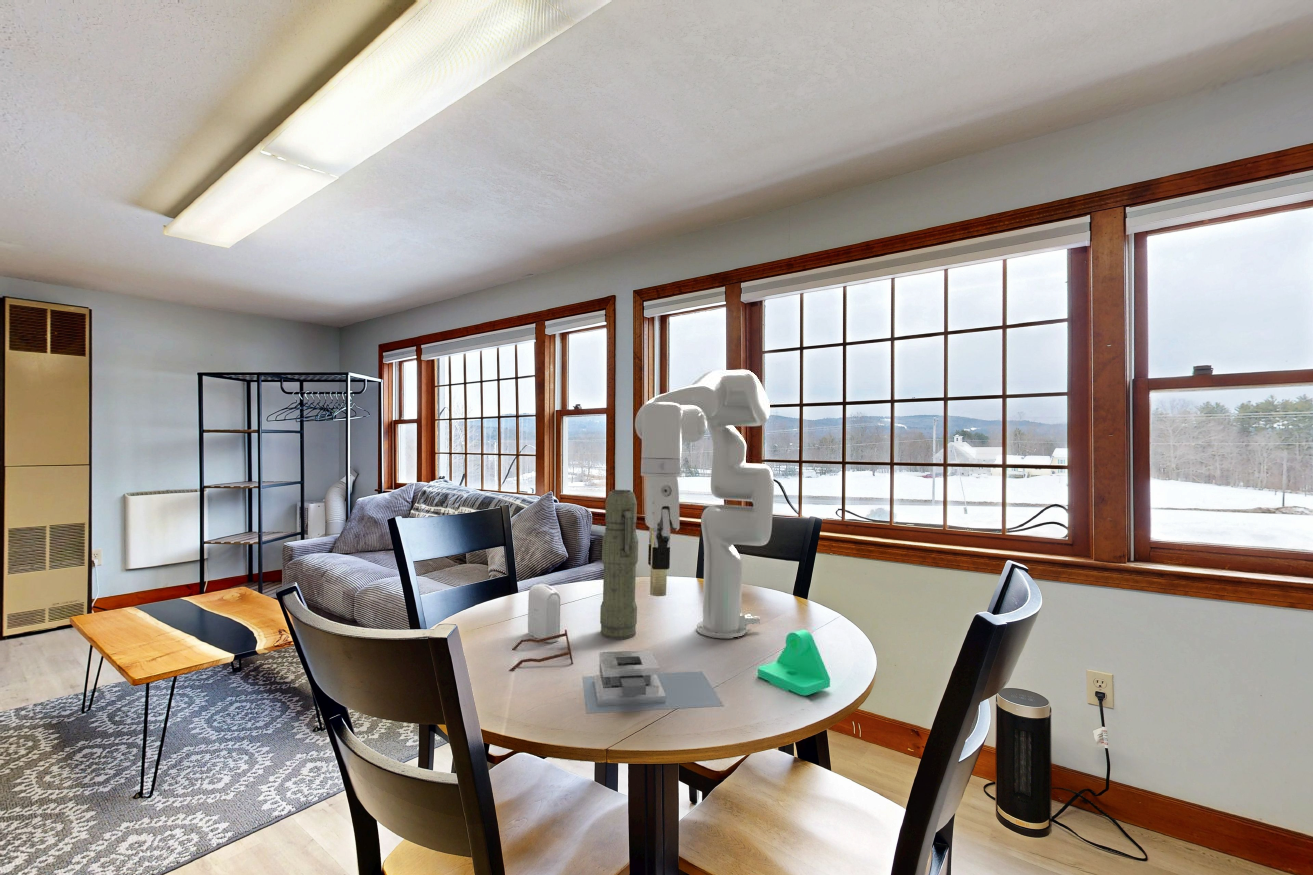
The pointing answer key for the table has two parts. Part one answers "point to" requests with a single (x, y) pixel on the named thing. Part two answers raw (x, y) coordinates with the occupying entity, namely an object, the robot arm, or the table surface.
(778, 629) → the table surface
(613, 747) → the table surface
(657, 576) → the pin
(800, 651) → the camera mount
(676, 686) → the mat
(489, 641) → the table surface
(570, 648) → the glasses
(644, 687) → the clevis
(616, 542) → the thermos
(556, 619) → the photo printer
